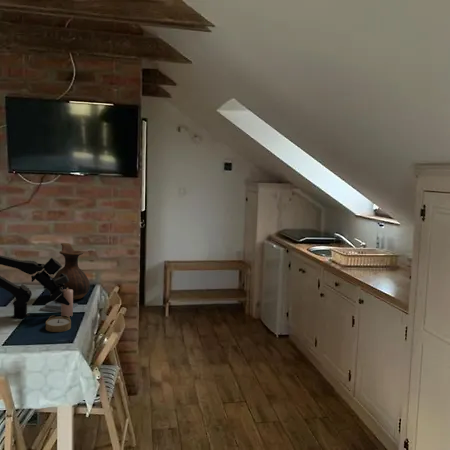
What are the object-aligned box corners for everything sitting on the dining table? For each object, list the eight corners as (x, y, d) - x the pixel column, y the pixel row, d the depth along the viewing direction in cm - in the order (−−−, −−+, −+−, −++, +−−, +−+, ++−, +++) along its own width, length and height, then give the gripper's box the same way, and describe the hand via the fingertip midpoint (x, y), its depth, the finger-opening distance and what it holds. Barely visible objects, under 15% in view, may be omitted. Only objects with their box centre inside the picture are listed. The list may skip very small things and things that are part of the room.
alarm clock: (44, 326, 227) (47, 311, 241) (44, 336, 228) (47, 321, 242) (70, 326, 230) (71, 311, 244) (70, 335, 231) (71, 320, 245)
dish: (65, 312, 259) (65, 307, 258) (40, 310, 261) (40, 305, 261) (77, 305, 272) (77, 300, 272) (53, 303, 275) (53, 298, 274)
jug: (95, 294, 298) (96, 244, 295) (81, 303, 277) (82, 249, 274) (60, 291, 300) (60, 242, 297) (43, 300, 279) (44, 247, 276)
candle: (69, 317, 251) (69, 289, 250) (59, 316, 252) (59, 288, 250) (74, 314, 257) (75, 287, 255) (64, 313, 257) (64, 286, 256)
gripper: (57, 273, 242) (81, 295, 246) (60, 266, 260) (82, 286, 264) (39, 290, 241) (64, 311, 245) (43, 281, 259) (66, 301, 262)
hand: (69, 302), depth 254 cm, fingers open, 9 cm apart
